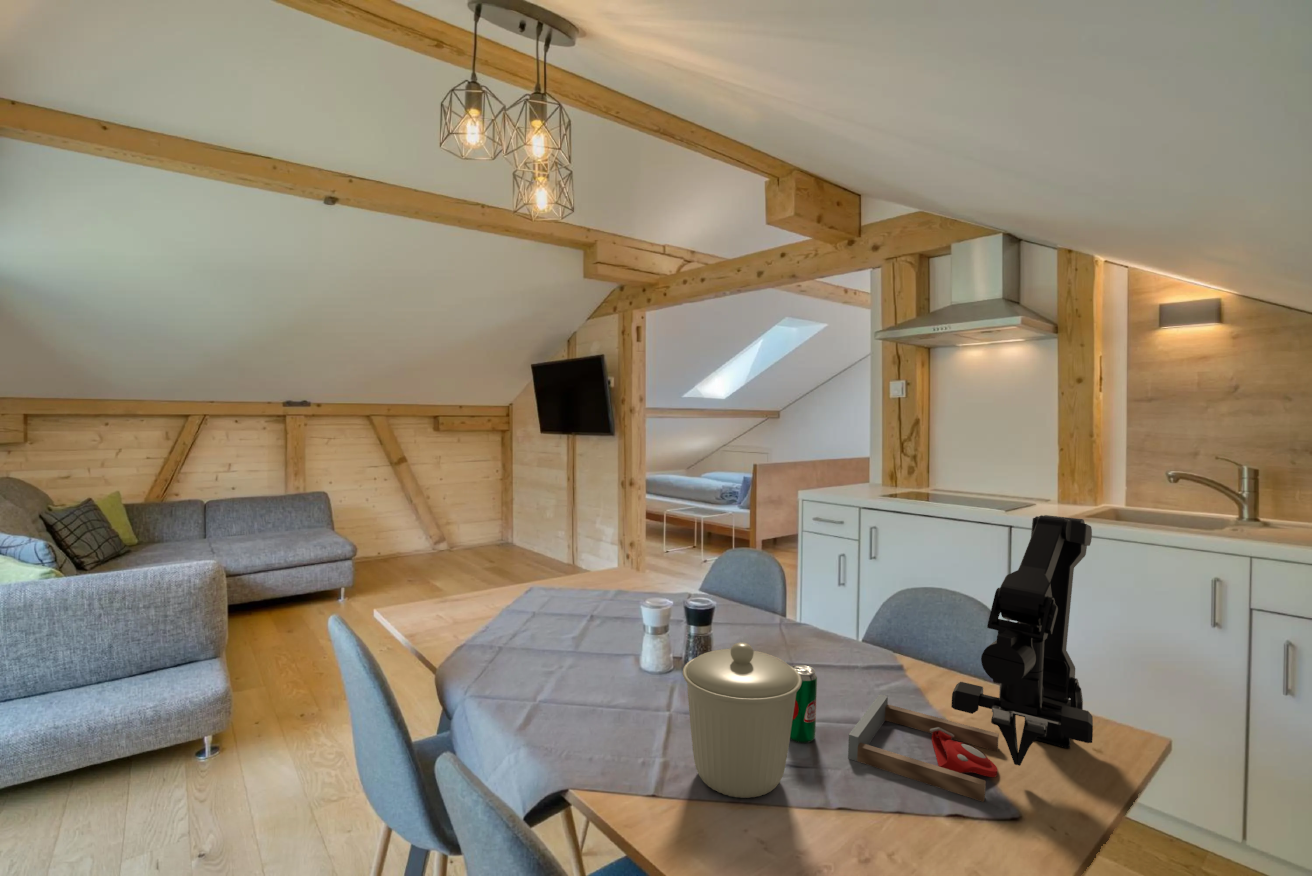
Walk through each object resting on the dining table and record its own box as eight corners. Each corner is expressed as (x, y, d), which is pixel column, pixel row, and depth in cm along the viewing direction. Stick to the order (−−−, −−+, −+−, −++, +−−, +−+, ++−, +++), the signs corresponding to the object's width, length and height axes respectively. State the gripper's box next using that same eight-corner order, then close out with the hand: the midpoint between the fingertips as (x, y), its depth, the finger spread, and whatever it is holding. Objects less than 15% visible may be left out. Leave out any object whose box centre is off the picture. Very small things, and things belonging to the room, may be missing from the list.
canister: (663, 797, 92) (667, 654, 91) (698, 739, 109) (701, 618, 108) (789, 827, 86) (793, 674, 85) (805, 761, 103) (809, 633, 102)
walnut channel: (998, 747, 108) (998, 733, 108) (983, 801, 93) (984, 785, 93) (887, 717, 119) (887, 704, 119) (857, 761, 103) (857, 746, 103)
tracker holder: (1009, 762, 102) (986, 769, 95) (998, 787, 102) (975, 796, 96) (938, 717, 111) (913, 721, 104) (928, 740, 111) (903, 745, 105)
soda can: (809, 747, 107) (811, 677, 107) (781, 738, 110) (783, 670, 109) (819, 735, 111) (821, 668, 111) (791, 727, 114) (793, 661, 114)
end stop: (887, 717, 119) (887, 696, 119) (857, 761, 103) (858, 737, 103) (878, 714, 120) (879, 694, 119) (848, 758, 104) (848, 734, 104)
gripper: (1093, 663, 100) (1089, 760, 100) (963, 638, 110) (960, 726, 110) (1094, 687, 90) (1090, 794, 91) (952, 657, 101) (949, 753, 101)
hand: (1017, 763), depth 99 cm, fingers closed
